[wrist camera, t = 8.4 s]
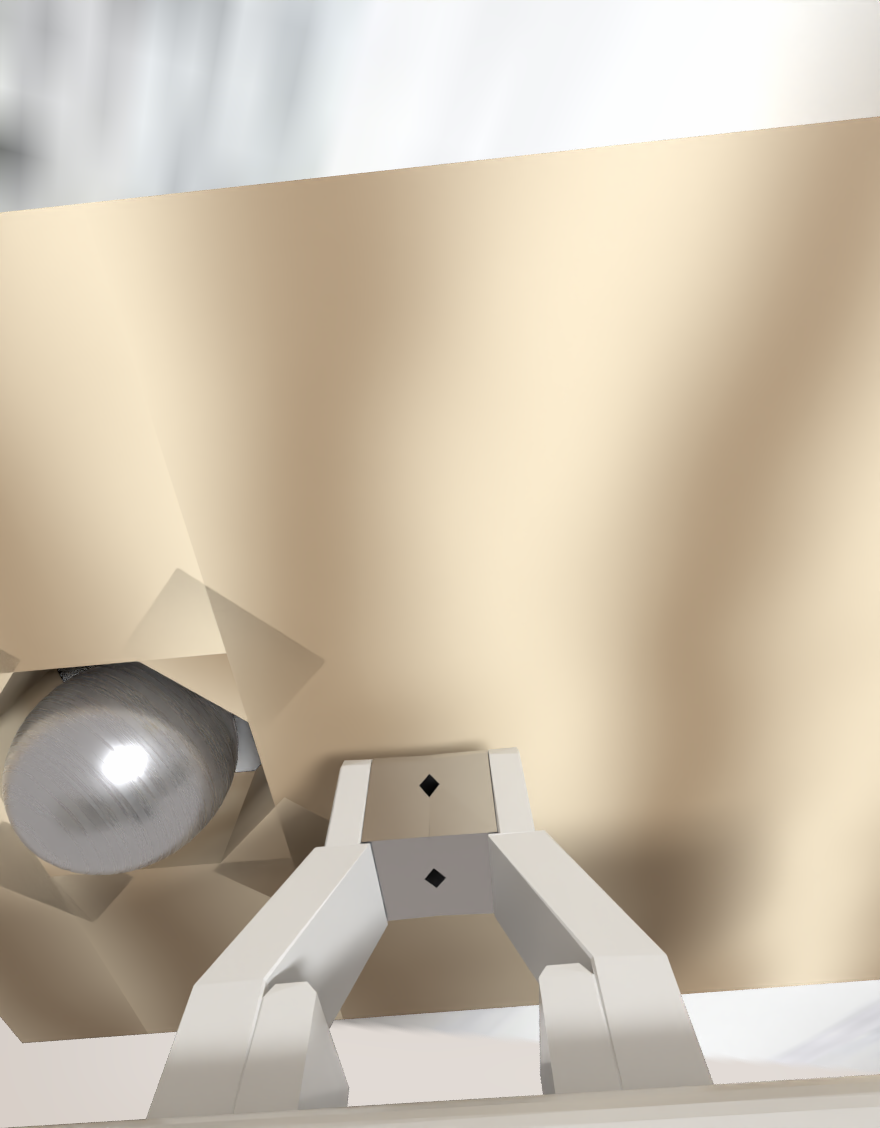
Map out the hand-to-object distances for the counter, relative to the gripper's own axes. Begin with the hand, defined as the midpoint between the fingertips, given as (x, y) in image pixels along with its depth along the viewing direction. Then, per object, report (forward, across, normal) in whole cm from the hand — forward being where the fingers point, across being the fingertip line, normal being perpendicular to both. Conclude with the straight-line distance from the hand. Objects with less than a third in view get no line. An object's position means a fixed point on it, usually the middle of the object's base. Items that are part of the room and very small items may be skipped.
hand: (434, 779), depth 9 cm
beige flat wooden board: (+3, -1, 0) cm, 3 cm away
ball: (+1, +6, 0) cm, 6 cm away
